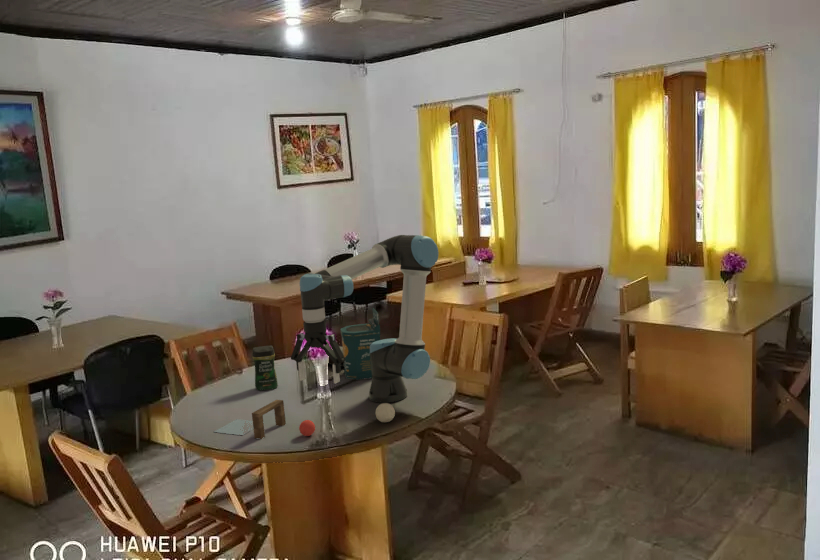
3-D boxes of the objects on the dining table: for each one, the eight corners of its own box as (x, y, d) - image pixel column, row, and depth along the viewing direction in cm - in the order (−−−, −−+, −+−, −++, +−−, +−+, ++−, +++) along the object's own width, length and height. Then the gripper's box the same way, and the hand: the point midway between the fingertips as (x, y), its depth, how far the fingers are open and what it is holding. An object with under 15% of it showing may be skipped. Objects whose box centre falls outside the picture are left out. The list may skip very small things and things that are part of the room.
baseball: (384, 426, 246) (382, 408, 245) (373, 421, 252) (371, 404, 251) (399, 421, 250) (398, 403, 249) (388, 416, 256) (386, 399, 255)
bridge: (285, 424, 256) (283, 400, 255) (261, 439, 243) (258, 413, 242) (279, 423, 258) (276, 399, 256) (254, 438, 245) (251, 413, 243)
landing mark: (264, 422, 260) (264, 422, 259) (242, 435, 248) (242, 435, 248) (236, 419, 265) (236, 419, 265) (213, 432, 254) (213, 431, 254)
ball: (318, 433, 245) (317, 418, 244) (310, 439, 240) (308, 424, 239) (305, 431, 247) (304, 417, 246) (296, 437, 242) (295, 422, 241)
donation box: (384, 376, 307) (378, 314, 302) (347, 381, 304) (341, 318, 299) (377, 366, 322) (372, 307, 318) (343, 371, 319) (337, 311, 315)
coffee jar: (255, 392, 297) (250, 350, 294) (255, 387, 305) (251, 345, 302) (278, 389, 299) (274, 347, 296) (278, 384, 307) (273, 343, 304)
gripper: (352, 318, 234) (356, 379, 238) (289, 317, 245) (295, 375, 248) (341, 323, 228) (346, 386, 231) (277, 321, 238) (283, 381, 241)
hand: (319, 381), depth 239 cm, fingers open, 13 cm apart
